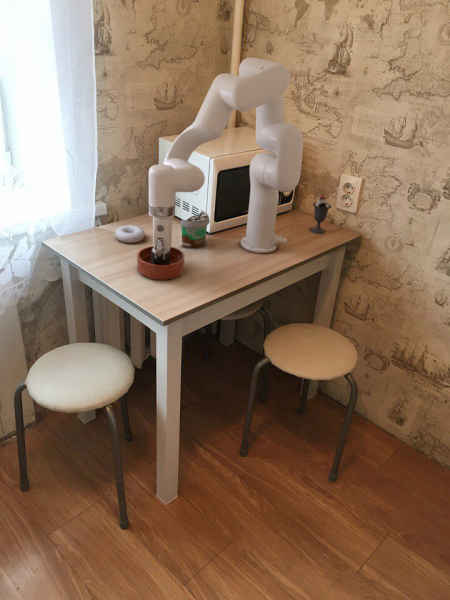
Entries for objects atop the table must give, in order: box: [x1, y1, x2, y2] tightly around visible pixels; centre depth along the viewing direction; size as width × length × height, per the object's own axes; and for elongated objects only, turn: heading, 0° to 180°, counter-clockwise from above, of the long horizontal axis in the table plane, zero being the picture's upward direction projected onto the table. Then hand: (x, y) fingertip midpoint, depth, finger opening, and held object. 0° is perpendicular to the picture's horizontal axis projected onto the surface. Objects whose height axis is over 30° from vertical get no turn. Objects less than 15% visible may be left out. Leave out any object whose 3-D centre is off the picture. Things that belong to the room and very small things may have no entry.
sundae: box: [310, 190, 332, 234], centre depth 190 cm, size 7×7×15 cm
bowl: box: [136, 245, 185, 281], centre depth 155 cm, size 14×14×5 cm
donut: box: [114, 224, 146, 244], centre depth 174 cm, size 10×4×10 cm
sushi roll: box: [151, 247, 170, 265], centre depth 154 cm, size 6×6×6 cm
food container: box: [180, 210, 211, 249], centre depth 172 cm, size 12×6×10 cm, turn 148°
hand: (161, 262), depth 155 cm, fingers open, 9 cm apart
